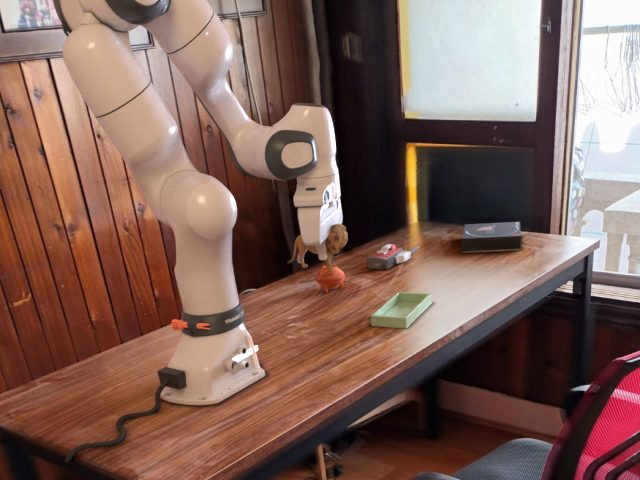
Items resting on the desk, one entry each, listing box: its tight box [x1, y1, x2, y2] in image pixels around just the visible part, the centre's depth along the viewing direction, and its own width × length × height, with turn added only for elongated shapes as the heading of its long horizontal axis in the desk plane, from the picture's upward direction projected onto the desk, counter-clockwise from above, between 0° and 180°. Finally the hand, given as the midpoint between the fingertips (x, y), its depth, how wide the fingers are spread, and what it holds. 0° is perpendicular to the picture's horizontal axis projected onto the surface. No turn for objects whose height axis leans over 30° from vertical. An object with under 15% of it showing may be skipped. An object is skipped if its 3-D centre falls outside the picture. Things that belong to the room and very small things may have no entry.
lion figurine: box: [287, 223, 349, 269], centre depth 165 cm, size 15×5×9 cm, turn 77°
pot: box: [314, 264, 346, 293], centre depth 197 cm, size 8×8×7 cm
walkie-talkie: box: [366, 243, 421, 271], centre depth 215 cm, size 9×4×20 cm
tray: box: [370, 291, 433, 329], centre depth 177 cm, size 17×9×2 cm, turn 157°
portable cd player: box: [460, 221, 522, 254], centre depth 222 cm, size 16×17×4 cm
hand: (326, 256), depth 166 cm, fingers closed on lion figurine, 4 cm apart
